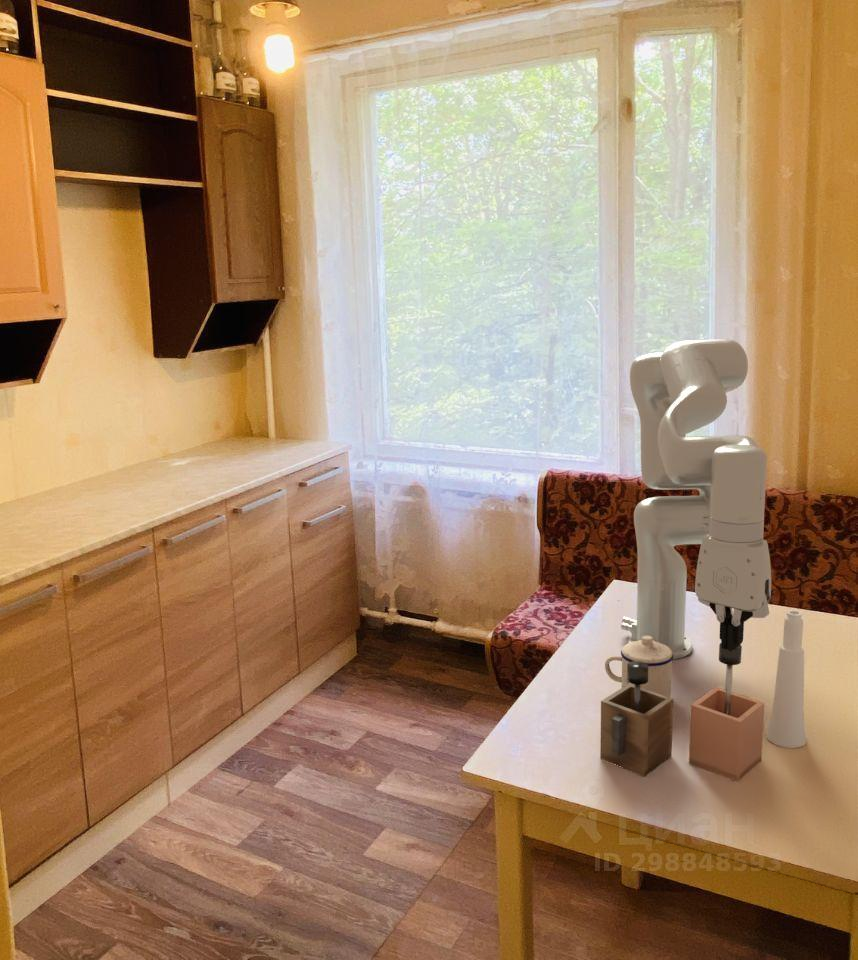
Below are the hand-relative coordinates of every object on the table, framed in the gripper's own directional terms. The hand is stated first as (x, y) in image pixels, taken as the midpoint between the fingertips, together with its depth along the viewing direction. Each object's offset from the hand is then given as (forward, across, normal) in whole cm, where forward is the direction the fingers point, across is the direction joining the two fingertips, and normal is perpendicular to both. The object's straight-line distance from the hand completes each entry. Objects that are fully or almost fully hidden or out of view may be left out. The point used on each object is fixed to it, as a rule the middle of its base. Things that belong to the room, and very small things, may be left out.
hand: (730, 646), depth 133 cm
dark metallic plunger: (+18, -11, -8) cm, 22 cm away
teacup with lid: (+20, -22, +10) cm, 31 cm away
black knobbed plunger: (+14, 0, 0) cm, 14 cm away
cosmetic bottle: (+20, +4, +13) cm, 24 cm away
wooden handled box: (+20, -11, -8) cm, 24 cm away
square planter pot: (+20, 0, 0) cm, 20 cm away
